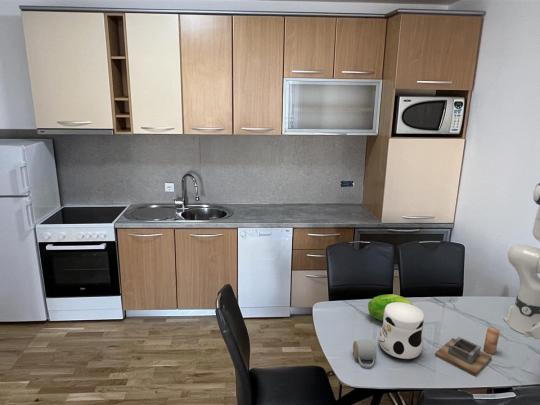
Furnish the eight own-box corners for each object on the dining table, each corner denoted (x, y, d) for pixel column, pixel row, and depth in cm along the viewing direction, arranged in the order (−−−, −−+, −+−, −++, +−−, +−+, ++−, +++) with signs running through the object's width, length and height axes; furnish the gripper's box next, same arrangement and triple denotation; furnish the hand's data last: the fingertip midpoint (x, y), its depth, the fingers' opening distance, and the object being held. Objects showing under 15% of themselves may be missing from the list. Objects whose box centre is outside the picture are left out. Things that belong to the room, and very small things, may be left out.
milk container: (369, 342, 168) (373, 304, 163) (401, 334, 174) (406, 298, 170) (396, 367, 152) (401, 326, 148) (430, 358, 159) (436, 318, 154)
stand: (452, 340, 171) (454, 329, 169) (491, 359, 159) (493, 347, 158) (434, 355, 160) (436, 344, 159) (475, 376, 149) (477, 364, 147)
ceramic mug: (351, 351, 161) (353, 335, 159) (371, 351, 161) (373, 335, 159) (357, 369, 151) (359, 352, 149) (378, 369, 151) (380, 352, 149)
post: (485, 346, 167) (489, 326, 165) (497, 351, 164) (501, 331, 161) (481, 351, 164) (485, 330, 162) (493, 356, 161) (497, 335, 159)
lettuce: (418, 324, 183) (421, 301, 180) (373, 328, 178) (376, 305, 175) (403, 309, 195) (406, 288, 192) (361, 313, 190) (363, 292, 187)
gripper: (567, 302, 149) (533, 315, 158) (549, 319, 136) (513, 331, 146) (579, 318, 146) (543, 330, 156) (562, 336, 134) (524, 347, 143)
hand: (529, 330), depth 151 cm, fingers open, 8 cm apart
